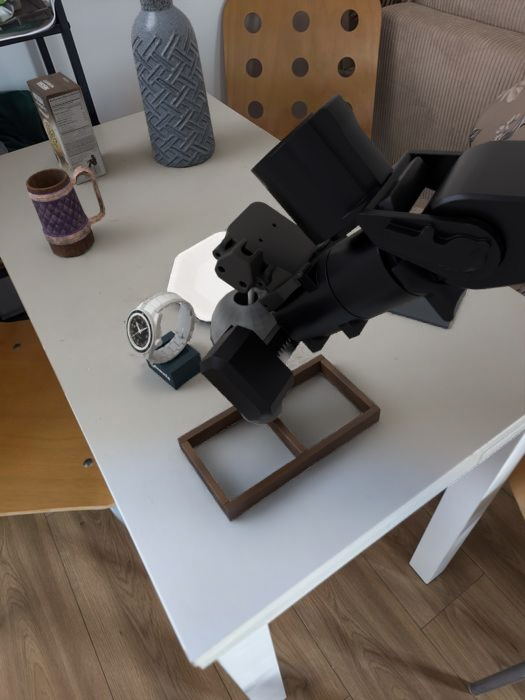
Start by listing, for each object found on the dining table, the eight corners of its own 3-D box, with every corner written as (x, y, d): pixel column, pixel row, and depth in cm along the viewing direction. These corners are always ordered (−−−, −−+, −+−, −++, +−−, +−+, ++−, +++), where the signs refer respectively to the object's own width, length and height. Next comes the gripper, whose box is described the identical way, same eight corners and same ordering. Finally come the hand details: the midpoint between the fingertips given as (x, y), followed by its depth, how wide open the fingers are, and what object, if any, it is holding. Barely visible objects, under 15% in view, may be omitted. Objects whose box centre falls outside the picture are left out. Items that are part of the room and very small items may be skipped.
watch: (135, 375, 63) (110, 310, 55) (186, 340, 67) (169, 273, 59) (163, 400, 61) (140, 335, 52) (214, 362, 64) (200, 295, 56)
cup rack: (379, 420, 57) (381, 408, 55) (230, 522, 50) (227, 512, 48) (320, 365, 62) (321, 353, 61) (180, 449, 56) (176, 438, 54)
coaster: (463, 290, 70) (463, 288, 69) (447, 329, 65) (448, 327, 65) (404, 275, 72) (405, 273, 72) (386, 311, 68) (386, 309, 68)
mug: (53, 263, 80) (21, 193, 71) (49, 238, 85) (19, 170, 76) (118, 245, 82) (95, 176, 73) (111, 222, 87) (89, 154, 78)
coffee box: (58, 167, 101) (24, 80, 89) (88, 156, 103) (60, 69, 91) (76, 186, 96) (43, 95, 84) (108, 173, 98) (80, 84, 86)
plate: (161, 329, 69) (158, 321, 67) (183, 240, 82) (181, 232, 81) (310, 326, 67) (310, 318, 66) (308, 236, 80) (308, 228, 79)
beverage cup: (212, 411, 55) (173, 259, 40) (258, 369, 58) (238, 215, 43) (263, 448, 51) (241, 297, 36) (309, 402, 54) (306, 246, 40)
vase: (224, 140, 104) (203, -31, 83) (201, 171, 96) (171, -9, 75) (170, 136, 107) (135, -30, 86) (143, 165, 99) (98, -9, 78)
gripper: (340, 127, 39) (234, 220, 51) (199, 271, 28) (109, 344, 41) (427, 239, 42) (306, 302, 54) (328, 408, 31) (206, 437, 44)
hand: (239, 339), depth 48 cm, fingers closed on beverage cup, 7 cm apart
